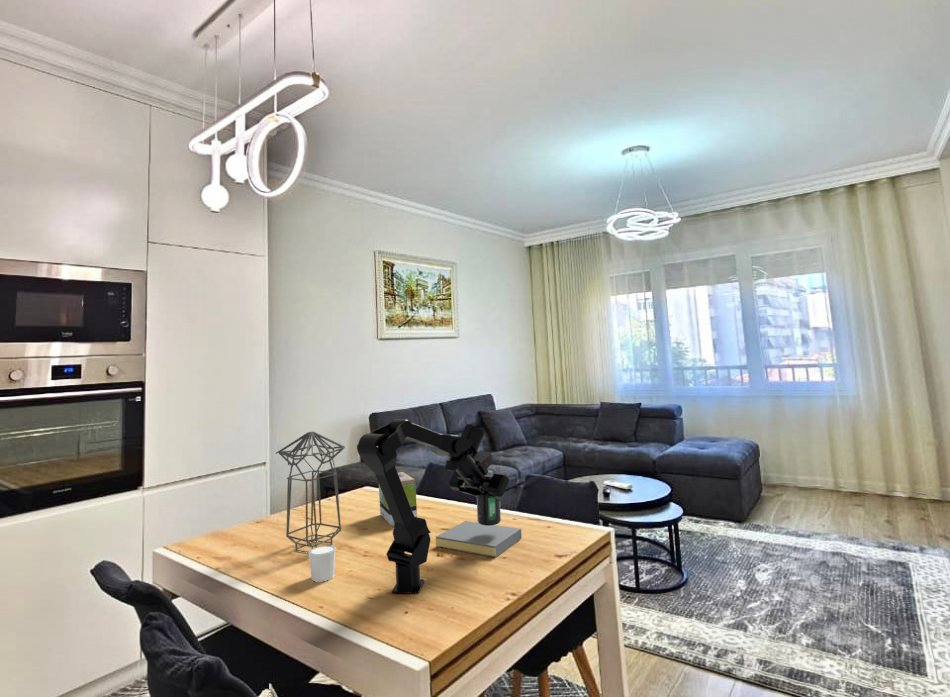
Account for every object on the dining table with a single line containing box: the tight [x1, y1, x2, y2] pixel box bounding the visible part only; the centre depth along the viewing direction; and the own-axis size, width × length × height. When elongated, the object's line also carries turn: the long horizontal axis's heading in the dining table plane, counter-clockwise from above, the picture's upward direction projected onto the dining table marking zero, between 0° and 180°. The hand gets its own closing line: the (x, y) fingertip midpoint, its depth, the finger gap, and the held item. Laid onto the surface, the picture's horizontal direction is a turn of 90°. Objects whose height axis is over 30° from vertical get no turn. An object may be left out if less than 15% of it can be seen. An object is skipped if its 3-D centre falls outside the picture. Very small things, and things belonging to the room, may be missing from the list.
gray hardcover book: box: [435, 520, 523, 558], centre depth 145 cm, size 16×20×3 cm
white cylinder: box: [307, 545, 337, 583], centre depth 126 cm, size 7×7×7 cm
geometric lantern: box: [275, 431, 346, 554], centre depth 149 cm, size 16×16×35 cm
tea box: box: [378, 471, 418, 526], centre depth 175 cm, size 15×10×15 cm
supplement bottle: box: [476, 485, 502, 526], centre depth 144 cm, size 7×7×12 cm
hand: (491, 498), depth 145 cm, fingers closed on supplement bottle, 7 cm apart
